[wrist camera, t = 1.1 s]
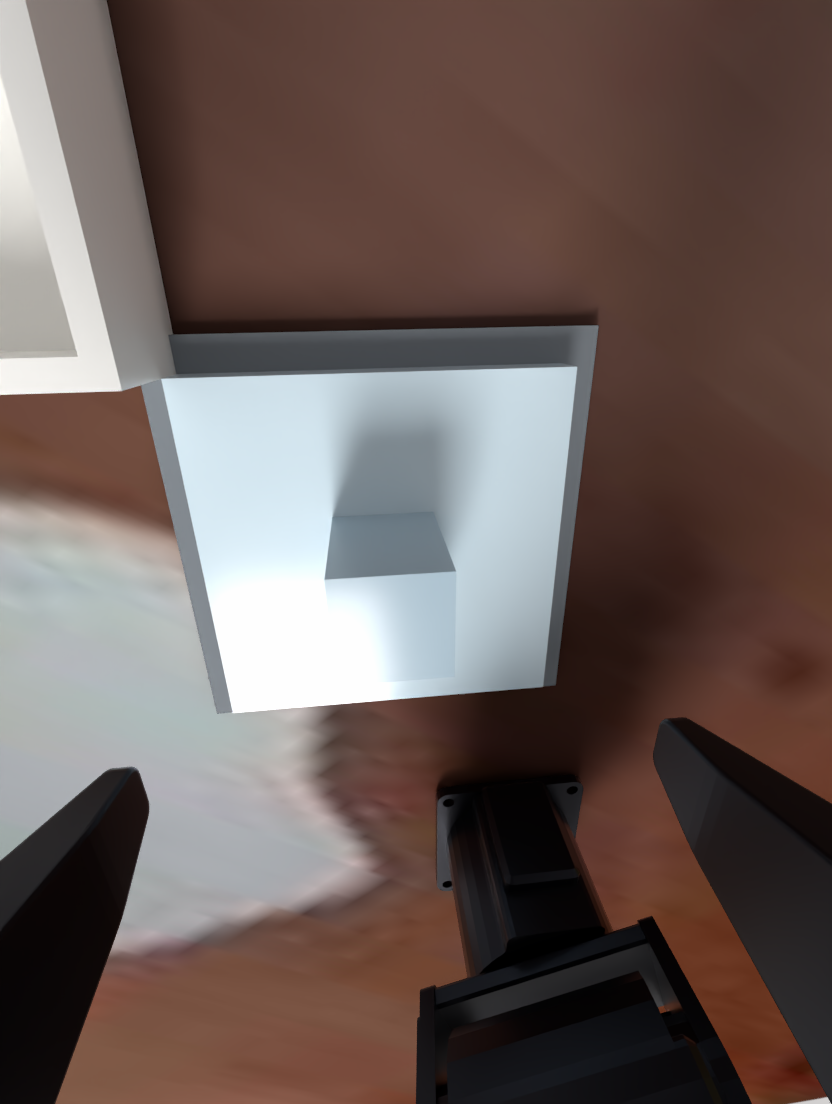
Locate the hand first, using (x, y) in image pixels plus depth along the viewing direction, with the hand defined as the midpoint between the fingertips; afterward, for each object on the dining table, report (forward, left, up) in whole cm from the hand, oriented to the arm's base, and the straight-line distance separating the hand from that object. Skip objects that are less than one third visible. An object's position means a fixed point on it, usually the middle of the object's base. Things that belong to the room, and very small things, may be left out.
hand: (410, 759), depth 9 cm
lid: (0, 0, -9) cm, 9 cm away
